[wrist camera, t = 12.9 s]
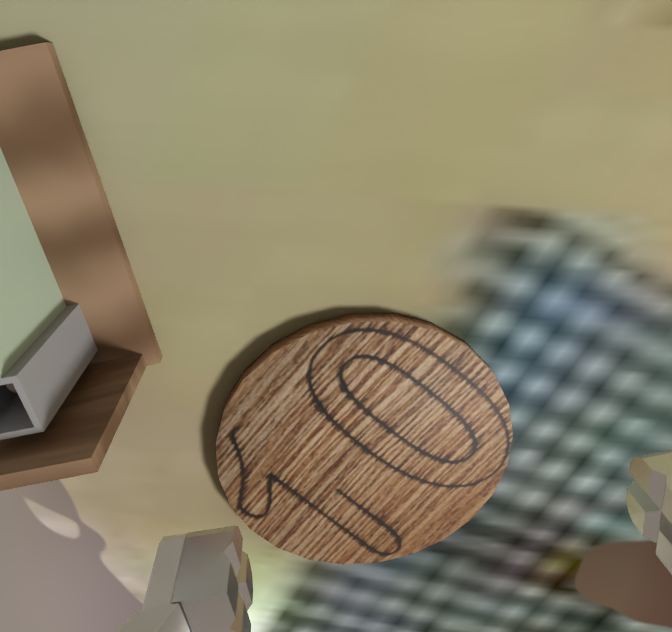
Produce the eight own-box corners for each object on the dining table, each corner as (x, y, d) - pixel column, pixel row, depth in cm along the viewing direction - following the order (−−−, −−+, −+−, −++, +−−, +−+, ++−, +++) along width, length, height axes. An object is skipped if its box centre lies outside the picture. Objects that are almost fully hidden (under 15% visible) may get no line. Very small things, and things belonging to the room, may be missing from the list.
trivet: (378, 583, 55) (381, 600, 54) (160, 470, 47) (155, 485, 46) (562, 414, 48) (572, 426, 47) (343, 248, 40) (346, 256, 39)
